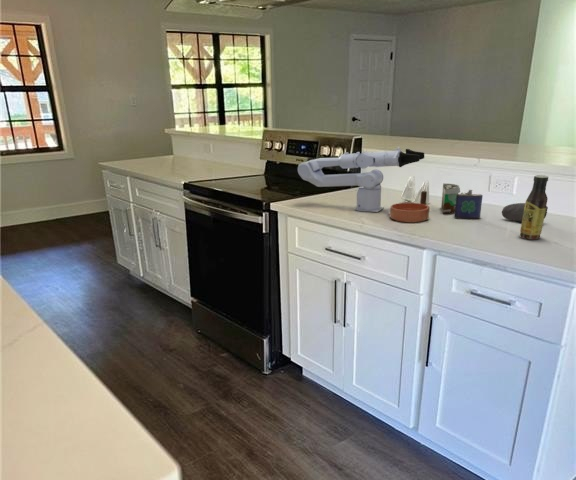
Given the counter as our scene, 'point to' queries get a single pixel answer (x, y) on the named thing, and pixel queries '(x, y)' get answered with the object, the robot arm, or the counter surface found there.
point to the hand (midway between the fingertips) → (421, 156)
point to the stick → (423, 197)
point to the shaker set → (410, 191)
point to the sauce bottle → (535, 209)
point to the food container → (449, 198)
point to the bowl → (409, 212)
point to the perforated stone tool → (515, 212)
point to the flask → (468, 205)
